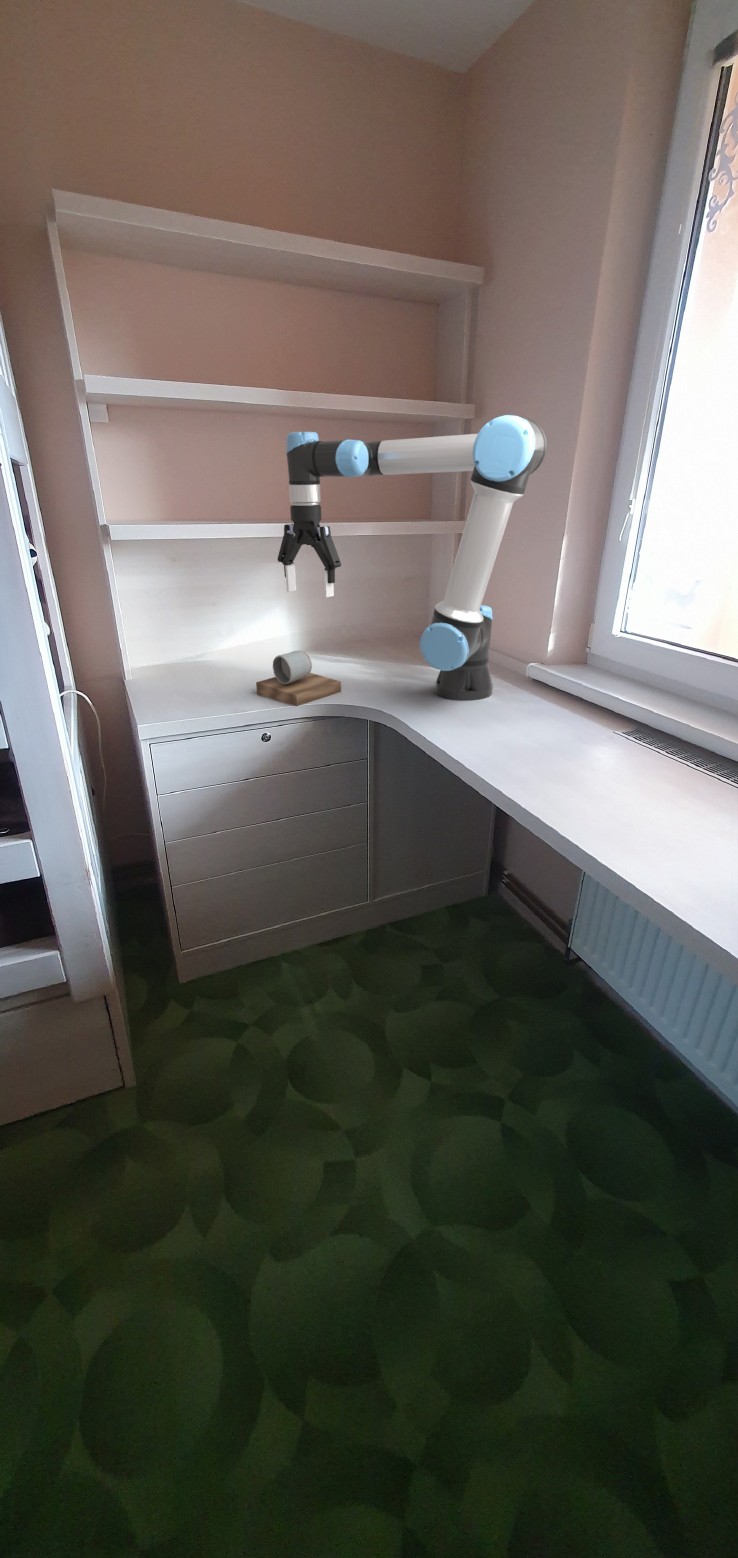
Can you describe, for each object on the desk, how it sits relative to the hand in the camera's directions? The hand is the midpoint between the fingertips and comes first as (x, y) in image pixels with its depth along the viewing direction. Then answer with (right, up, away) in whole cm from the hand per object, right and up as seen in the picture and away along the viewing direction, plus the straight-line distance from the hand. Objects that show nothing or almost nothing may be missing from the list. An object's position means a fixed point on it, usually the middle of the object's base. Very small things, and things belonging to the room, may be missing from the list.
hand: (309, 593), depth 167 cm
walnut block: (-4, -25, +9) cm, 27 cm away
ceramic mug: (-3, -21, +9) cm, 23 cm away
